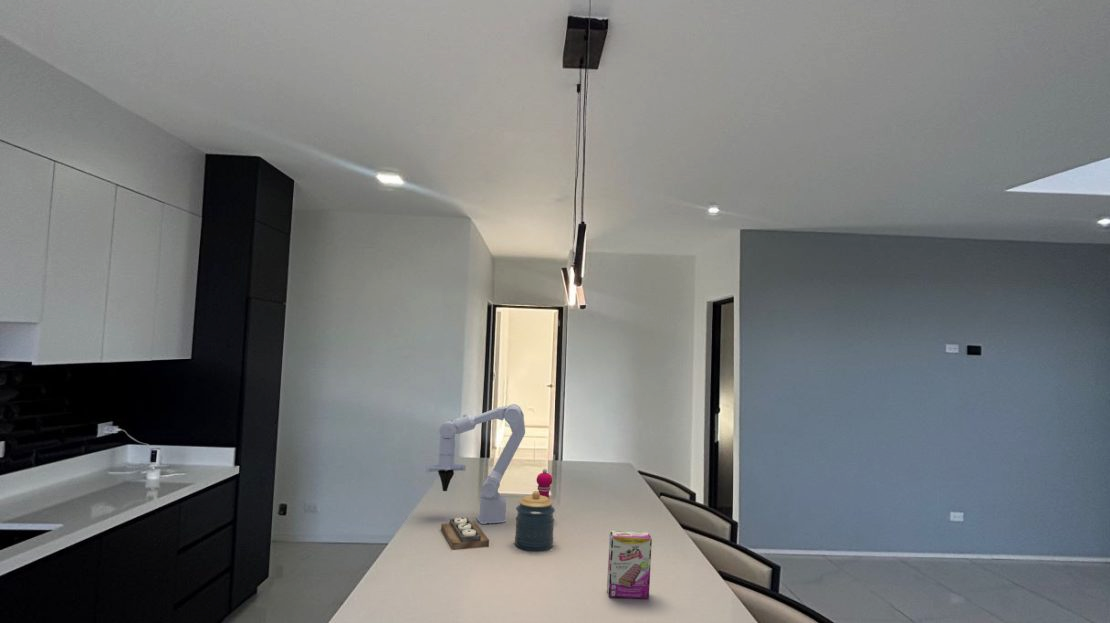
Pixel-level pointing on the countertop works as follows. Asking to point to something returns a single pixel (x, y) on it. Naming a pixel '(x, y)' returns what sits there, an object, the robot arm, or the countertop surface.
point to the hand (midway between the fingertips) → (444, 490)
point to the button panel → (462, 542)
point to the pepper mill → (544, 483)
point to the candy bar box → (629, 564)
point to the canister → (534, 523)
